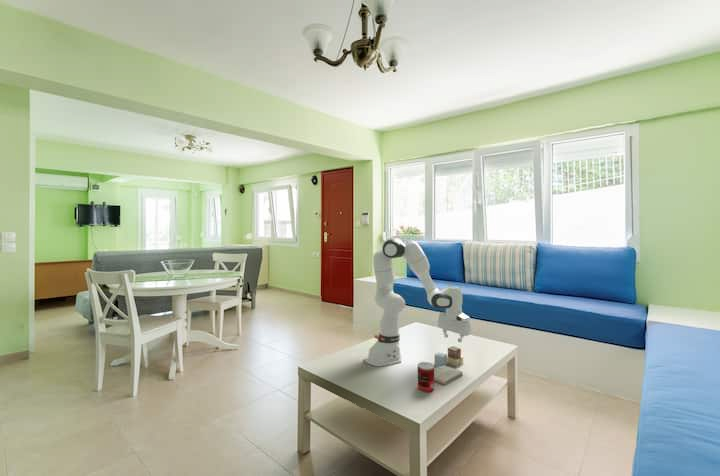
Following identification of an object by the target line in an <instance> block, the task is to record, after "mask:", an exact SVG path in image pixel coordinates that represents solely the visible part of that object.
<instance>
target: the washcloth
mask: <svg viewBox="0 0 720 476" xmlns="http://www.w3.org/2000/svg"><path fill="white" fill-rule="evenodd" d="M463 373H464V372H463V371H462V370H459V369H455V368H453V367H451V366H448V365H446V366H445V365H443V366H441V367H438V366H436V367H434V382H435V383H438V384H440V385H444V386H445V385H447V384H449V383H452V382H453V381H454V380H456V378H457V379H458V378H461V377H462V376H463Z"/></svg>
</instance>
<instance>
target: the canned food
mask: <svg viewBox="0 0 720 476" xmlns="http://www.w3.org/2000/svg"><path fill="white" fill-rule="evenodd" d="M434 369H435V364H433V363H431V362H428V361H421V362H419V363H418V364H417V388H418V389H419V391H421V392H424V393H430V392H433V391H434V389H435V381H434Z"/></svg>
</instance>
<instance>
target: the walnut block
mask: <svg viewBox="0 0 720 476" xmlns="http://www.w3.org/2000/svg"><path fill="white" fill-rule="evenodd" d="M447 356H448V357H450V358H452V359H458V358H461V356H462V349H461V348H460V347H457V346H454V345H453V346H450V347H447Z"/></svg>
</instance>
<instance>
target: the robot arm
mask: <svg viewBox="0 0 720 476" xmlns="http://www.w3.org/2000/svg"><path fill="white" fill-rule="evenodd" d="M402 257H403V258H404V260H405V261H406V263H407V264H408V267H409V268H410V270H411V271H412V273H413V274H414V275H415V276H416V277H417V278H418V279H419V281H420V282H421V284H422V286H423V288H424V290H425V293H426V301H427V302H428V304H429V305H431V306H432V307H433V308H435V309H436V310H445V312H443V311H442V312H439V314H438V320H437V328H439V329H442V333H443V334H444V336H443V337H444V338H449V334H448V332H451V333H454V334H458V335H459V338H457V342H459V343H462V342H463V339H464V338H465V337H468V336H470V334H471V333H472V332H471V327H472V326H471V323H470V321H471V317H470V316H468V315H467V314H465V313H464V312H463V309H462V308H463V307H462V306H463V290H462V288H460V287H457V286H453V285H449V286H447V287H446V288H444V289H441V290H440V289H439V288H437V286H436V285H435V283H434V281H433V279H432V278H431V275H430V267H431V265H430V263H429V262H430V261H429V259H428V258H427V255H426V254H425V252H424V251H423V248H421V246H420V245H419V244H418V242H416V241H413V240H409V241H408V242H404V240H403V238H401V237H400V236H396V235H395V236H391V237H389V238H388V239H387V240H386V241H384V242H383V244H382V249H381V250H378V251H376V252H375V253H374V255H373V258H372V259H373V261H372V262H373V269H374V276H375V281H376V291H375V295H374V302H375V303H376V305H377V306H378V307H380V308H381V309H382V310H383V314H382V317H381V318H380V321H379V334H378V335H377V334H374V339H376V340H377V341H376V342H375V343H374V344H373V345H372V346H370V348H369V349H368V356H365V357H364V361H365V362H366V363H367V364H369V365H372V366H374V367H378V368H379V367H383V366H389V365H393V364H394V365H395V364H400V363H401V362H402V353H401V348H400V331H399V330H400V327H399V326H400V318H401V313H402V312H403V311H404V310H405V308H406V300H405V299H404V297H402V296H401V295H400V294H398V293H395V292H394V283H395V282H396V278H395V271H394V268H393V259H397V258H402ZM447 331H448V332H447Z"/></svg>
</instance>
